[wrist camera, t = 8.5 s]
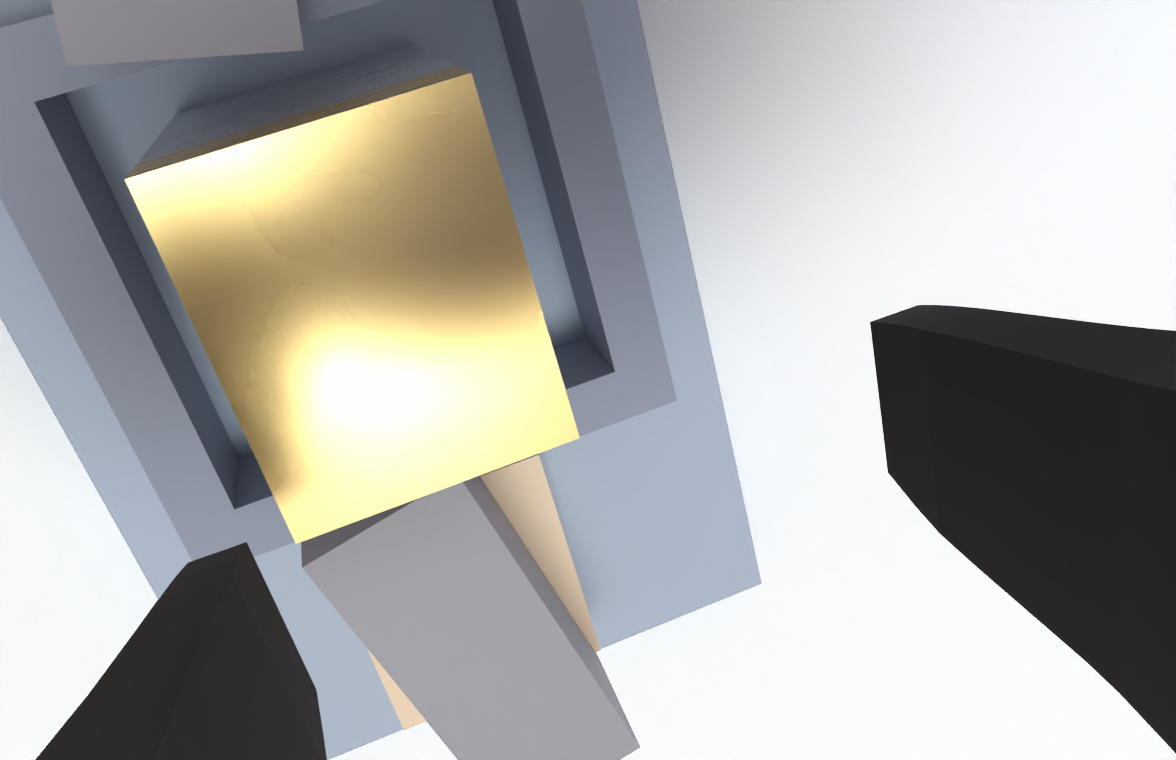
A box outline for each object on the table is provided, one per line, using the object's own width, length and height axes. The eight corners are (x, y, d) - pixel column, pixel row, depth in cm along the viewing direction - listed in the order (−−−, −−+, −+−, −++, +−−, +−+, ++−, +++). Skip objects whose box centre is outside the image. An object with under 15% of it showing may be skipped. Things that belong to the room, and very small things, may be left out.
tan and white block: (495, 307, 19) (579, 438, 14) (291, 377, 18) (295, 543, 13) (410, 41, 17) (471, 72, 11) (177, 111, 16) (124, 179, 11)
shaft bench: (481, -603, 15) (571, -868, 10) (740, 556, 24) (848, 693, 20) (-382, -435, 13) (-751, -663, 8) (264, 747, 22) (258, 947, 18)
